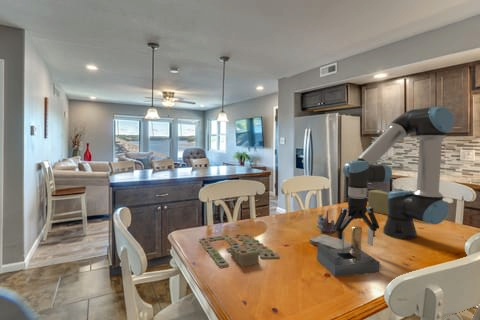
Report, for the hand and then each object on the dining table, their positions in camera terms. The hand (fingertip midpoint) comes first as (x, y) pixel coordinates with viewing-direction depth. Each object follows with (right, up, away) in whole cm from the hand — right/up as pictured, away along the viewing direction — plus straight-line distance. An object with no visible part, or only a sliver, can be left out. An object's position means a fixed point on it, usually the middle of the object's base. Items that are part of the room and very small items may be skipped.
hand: (355, 245), depth 114 cm
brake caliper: (-3, -2, +32) cm, 32 cm away
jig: (-8, -5, -10) cm, 14 cm away
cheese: (+49, 0, +65) cm, 81 cm away
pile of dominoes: (-52, -4, +7) cm, 52 cm away
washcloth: (-7, -4, +10) cm, 13 cm away
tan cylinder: (0, -4, 0) cm, 4 cm away
